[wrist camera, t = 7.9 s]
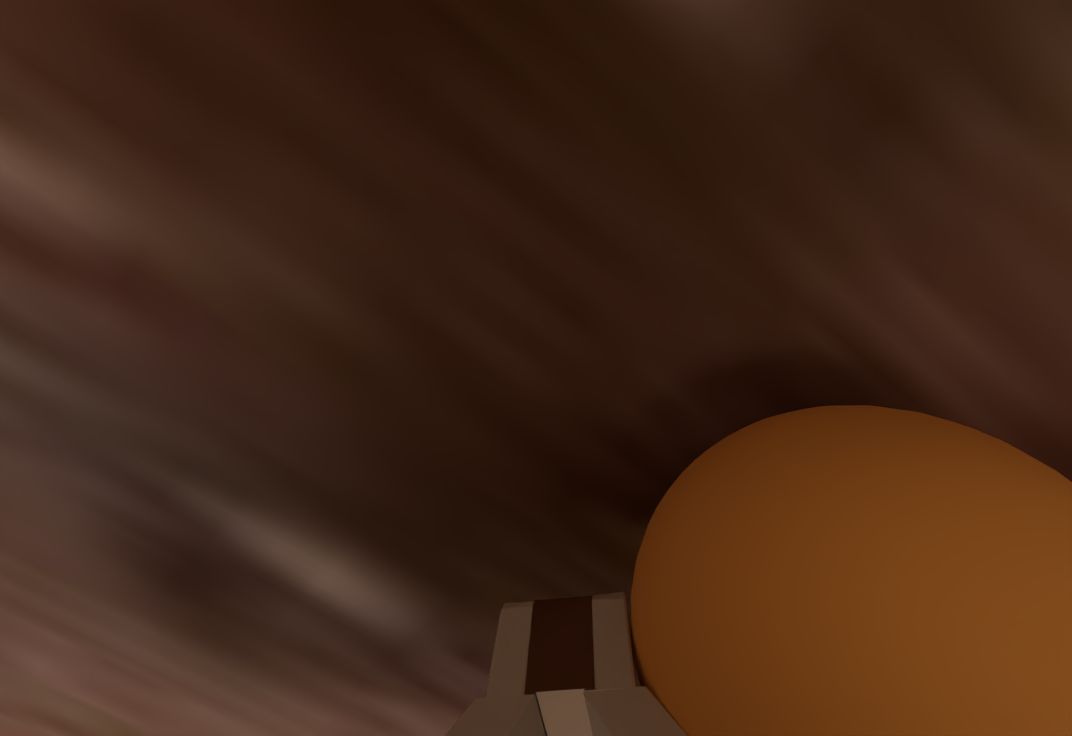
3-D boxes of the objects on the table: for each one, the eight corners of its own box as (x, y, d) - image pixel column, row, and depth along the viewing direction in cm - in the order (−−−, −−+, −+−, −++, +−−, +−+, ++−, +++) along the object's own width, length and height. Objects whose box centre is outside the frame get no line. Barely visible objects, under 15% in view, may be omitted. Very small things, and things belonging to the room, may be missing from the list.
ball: (545, 407, 8) (790, 907, 3) (888, 300, 9) (1664, 539, 3) (612, 660, 11) (812, 1190, 5) (877, 564, 11) (1312, 952, 6)
